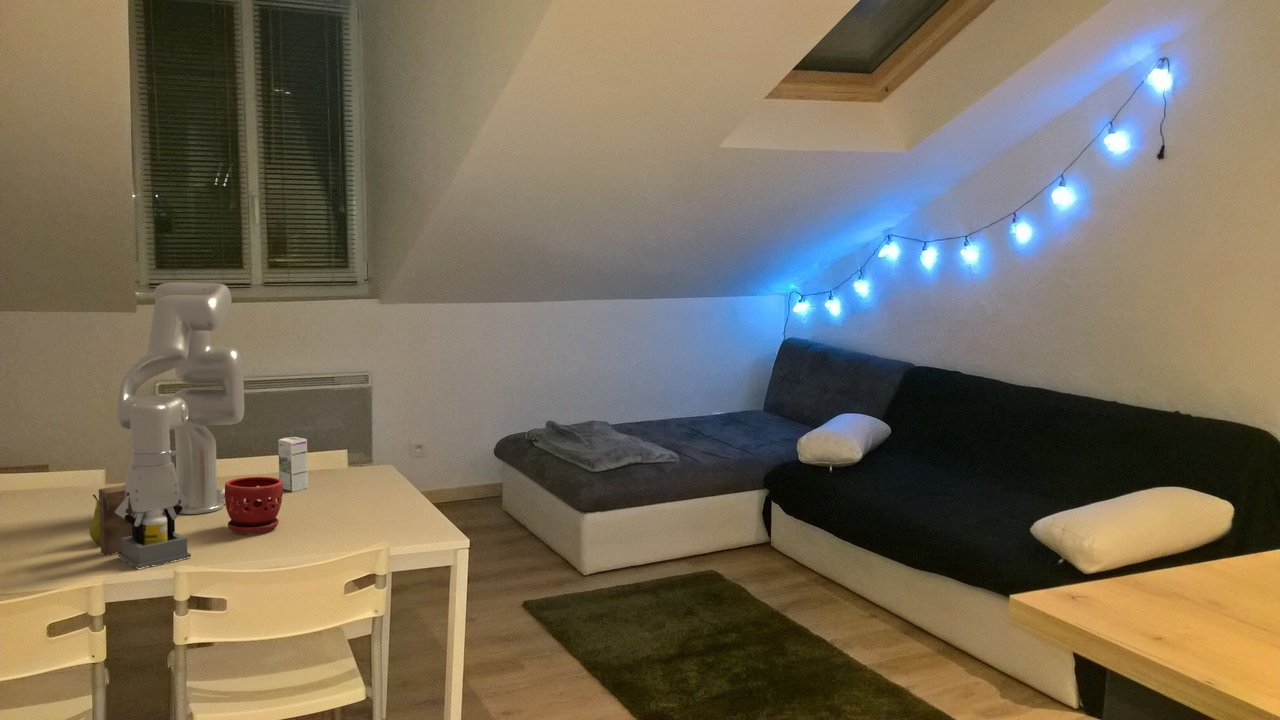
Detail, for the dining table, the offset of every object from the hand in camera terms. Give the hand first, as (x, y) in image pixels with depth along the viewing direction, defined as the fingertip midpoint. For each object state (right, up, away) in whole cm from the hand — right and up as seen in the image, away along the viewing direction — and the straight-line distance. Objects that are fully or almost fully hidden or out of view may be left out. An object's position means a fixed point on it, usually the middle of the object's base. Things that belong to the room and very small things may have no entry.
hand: (154, 538), depth 214 cm
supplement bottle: (0, -3, 0) cm, 3 cm away
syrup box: (+9, +2, +62) cm, 63 cm away
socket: (0, -4, 0) cm, 4 cm away
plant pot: (+13, -2, +24) cm, 27 cm away
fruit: (-16, -3, +9) cm, 19 cm away
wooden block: (-7, -4, +6) cm, 10 cm away
